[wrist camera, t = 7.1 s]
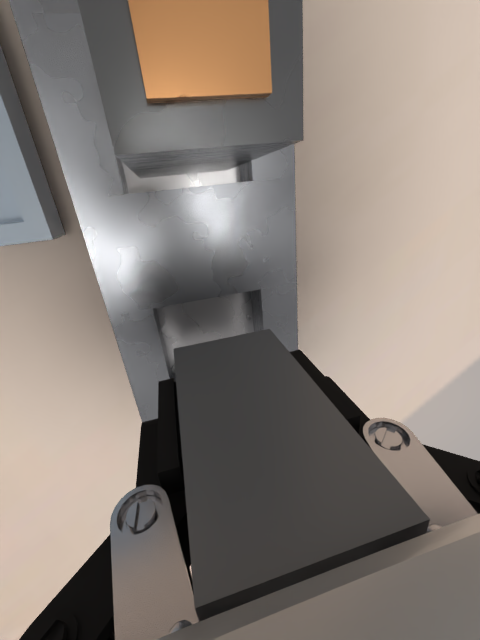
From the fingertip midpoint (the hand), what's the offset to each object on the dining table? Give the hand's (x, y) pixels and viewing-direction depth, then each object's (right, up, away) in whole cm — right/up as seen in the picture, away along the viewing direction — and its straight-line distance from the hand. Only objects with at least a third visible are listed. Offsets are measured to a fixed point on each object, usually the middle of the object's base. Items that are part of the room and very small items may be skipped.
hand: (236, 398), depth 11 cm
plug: (0, 0, +1) cm, 1 cm away
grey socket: (-2, +7, +4) cm, 9 cm away
